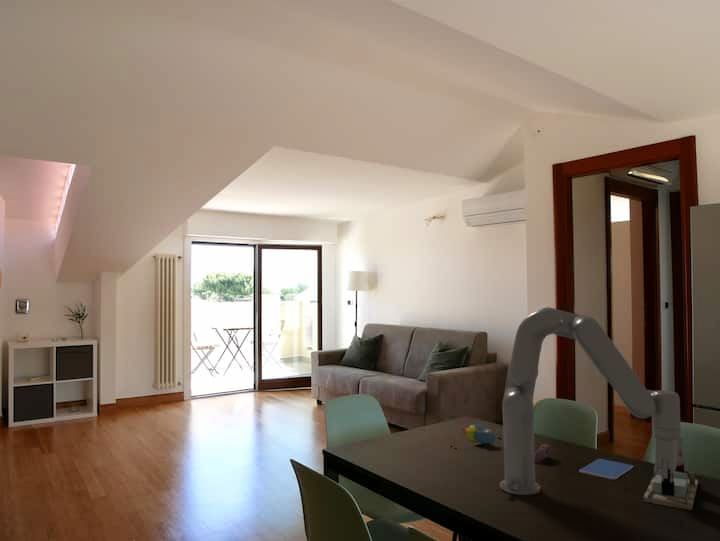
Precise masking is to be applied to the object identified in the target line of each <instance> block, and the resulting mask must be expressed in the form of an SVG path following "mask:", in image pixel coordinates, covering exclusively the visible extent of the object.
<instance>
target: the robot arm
mask: <svg viewBox="0 0 720 541" xmlns="http://www.w3.org/2000/svg"><path fill="white" fill-rule="evenodd" d="M550 335H556V336H559V337H562V338H563V337H564V338H568V339H572V340H576V342H577V343H578V344H579V346H580V347H581V349H582V350H583V352H584V353H585V354H586V355H587V357H588V359H589V360H590V361H591V363H592V365H594V367H595V368H596V369H597V372H599V373H600V375H601V376H603V378H604V379H605V380H606V381H607V383H609V384H610V386H611V387H612V388H613V390H615V392H616V394H617V395H618V396H619V399H621V401H622V403H623V406H624V407H625V408H626V409H627V411H629V412H630V414H631V415H632V416H634V417H636V418H638V419H648V418H651V432H652V434H651V436H652V437H653V438H655V444H654V445H655V447H654V467H655V471H656V472H658V471H659V470H660V469H661V476H662V480H661V487H662V494H664V495H669V496H674V494H675V492H674V481H673V480H674V472H675V470H676V467H677V440H681V436H682V435H681V434H682V431H681V430H682V429H681V404H680V403H681V401H680V396H679V394H678V393H677V392H676V391H671V390H661V389H660V390H658V389H657V390H652V389H651V390H650V389H647V388H646V387H645V385H644V384H643V382H641V380H640V379H639V377H638V376H637V374H636V373H635V371H633V369H632V367H630V364H628V362H627V360H626V358H625V357H624V356H623V355H622V353H621V352H620V350H619V349H618V348H617V347H616V345H615V344H614V342H613V341H612V340H611V338H610V336H609V335H608V334H607V333H606V331H605V330H604V329H603V327H602V326H601V324H600V323H599V322H598V320H596V319H595V318H593V317H591V316H587V315H583V314H578V313H572V312H569V311H564V310H561V309H558V308H553V307H548V306H546V307H543V308H540V309H539V310H537V311H535V312H532V313H531V314H529V315H527V316H526V317H525V318H524V319H523V320H522V322H521V323H520V324H519V325H518V328H517V331H516V334H515V338H514V344H513V348H512V353H511V360H510V362H509V364H508V368H507V375H506V381H505V387H504V394H503V399H502V403H501V404H502V428H503V429H502V430H503V431H502V434H503V437H502V438H503V439H502V440H503V465H504V466H503V467H504V469H503V470H504V473H503V474H504V476H503V477H504V479H503V480H501V481H500V482H499V488H500V489H501V490H502V491H503V490H504V492H505V491H506V493H508V494H512V495H516V496H517V495H518V496H531V495H537V494H538V493H540V492H541V486H540V484H539V483H537V482H536V470H535V468H536V461H535V457H534V453H535V429H534V428H535V426H534V422H535V421H534V420H535V419H534V417H535V413H534V412H535V411H534V410H535V409H534V408H535V407H534V394H535V387H536V383H537V378H538V376H539V365H540V364H539V362H540V356H541V351H542V347H543V342H544V341H545V339H546V337H547V336H550Z"/></svg>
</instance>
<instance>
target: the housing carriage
mask: <svg viewBox="0 0 720 541" xmlns="http://www.w3.org/2000/svg"><path fill="white" fill-rule="evenodd" d="M688 478H689V477H688V473H687V472H684V473H682V472H676V471H675V472H674V480H673V481H674V492H675V494H674V496H676V497H682V498H685V497H686V493H687V490H688ZM661 480H662V476H661V469H660V470H659V471H658V472H657V475H656V477H655V479H654V481H653V492H654V493H659V494H662V487H661Z"/></svg>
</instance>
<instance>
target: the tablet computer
mask: <svg viewBox="0 0 720 541" xmlns="http://www.w3.org/2000/svg"><path fill="white" fill-rule="evenodd" d="M633 467H634V465H632V464H629V463H623V462H619V461H614V460H610V459H609V460H608V459H603V458H597V459H596V460H594V461H593V462H591V463H589V464H588V465H586V466H584V467H582V468H581V469H579V471H578V472H579V473H581V474H586V475H588V476H589V475H590V476H594V477H598V478H604V479H608V480H612V479H613V481H614V480H618V479H619V478H620V477H621V476H623V475H624V474H626V473H627V472H629V471H631V470H632V469H634V468H633Z"/></svg>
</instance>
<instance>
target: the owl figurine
mask: <svg viewBox="0 0 720 541" xmlns="http://www.w3.org/2000/svg"><path fill="white" fill-rule="evenodd" d="M467 426H468V427H467V428H466V427H465V425H462V426H460V428H461V430H462V432H463V435H464V436H465V435H467V438H468V439H467V440H466V441H470V440H471V441H472V442H475V443H481V445H488V444H489V445H490V444H491V445H493V444H494V443H495V442H496V441H497V440H496V439H497V438H496V437H498V435H497V433H494V432H493V431H492V430H491V429H489V428H487V427H486V426H484V425H482V424H479V423H475V422H474V423H473V424H470V425H469V424H467ZM495 440H496V441H495Z"/></svg>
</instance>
